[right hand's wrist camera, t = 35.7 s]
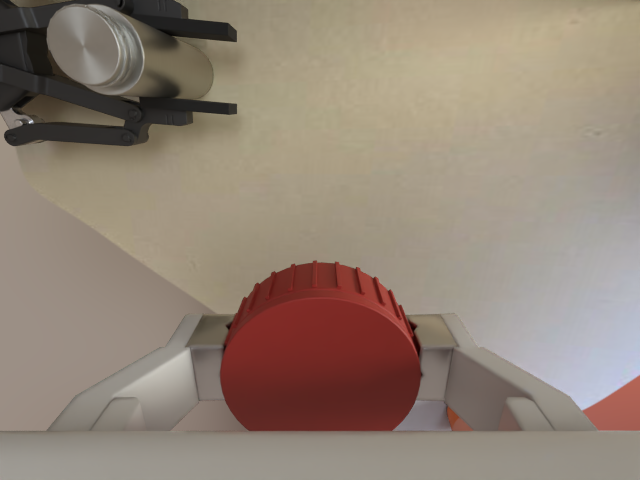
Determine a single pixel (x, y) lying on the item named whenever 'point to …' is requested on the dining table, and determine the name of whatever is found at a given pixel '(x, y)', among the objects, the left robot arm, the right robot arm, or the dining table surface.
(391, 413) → the lid
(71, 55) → the jar
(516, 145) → the dining table surface
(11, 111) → the left robot arm
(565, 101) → the dining table surface
